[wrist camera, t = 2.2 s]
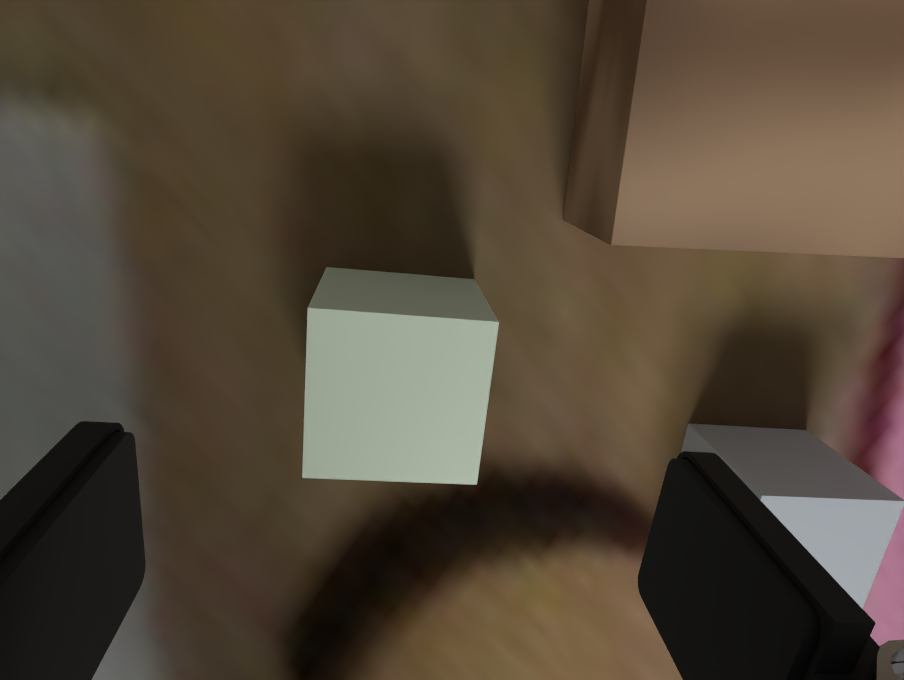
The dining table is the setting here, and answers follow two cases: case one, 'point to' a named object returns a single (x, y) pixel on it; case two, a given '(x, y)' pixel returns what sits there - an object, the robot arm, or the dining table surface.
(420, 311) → the sage block
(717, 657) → the robot arm
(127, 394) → the dining table surface
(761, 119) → the walnut base block
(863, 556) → the slate block
